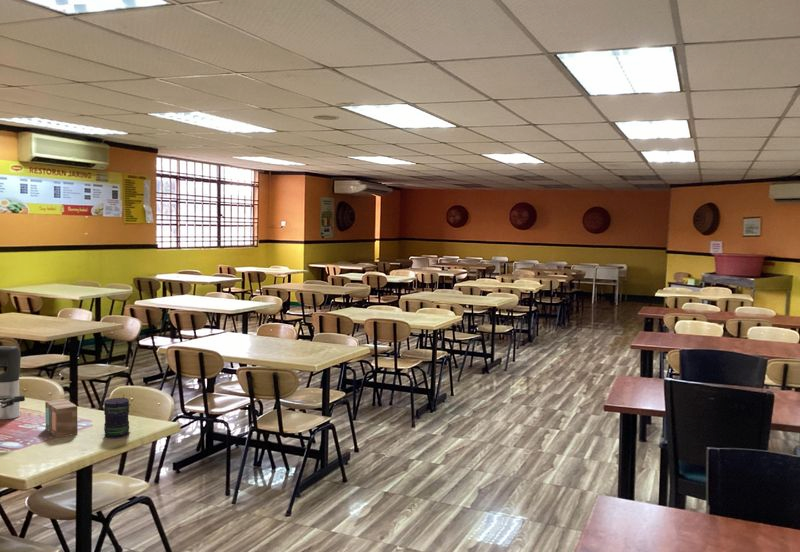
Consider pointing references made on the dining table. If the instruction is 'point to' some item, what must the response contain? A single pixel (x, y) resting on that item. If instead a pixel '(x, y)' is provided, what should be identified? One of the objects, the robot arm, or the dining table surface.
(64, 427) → the walnut console
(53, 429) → the terracotta button
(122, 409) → the dark blue barrel
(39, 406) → the dining table surface
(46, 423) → the grey-green piece
